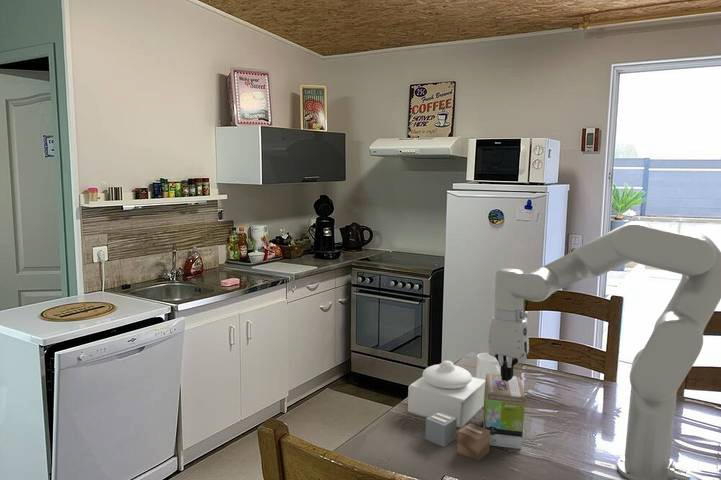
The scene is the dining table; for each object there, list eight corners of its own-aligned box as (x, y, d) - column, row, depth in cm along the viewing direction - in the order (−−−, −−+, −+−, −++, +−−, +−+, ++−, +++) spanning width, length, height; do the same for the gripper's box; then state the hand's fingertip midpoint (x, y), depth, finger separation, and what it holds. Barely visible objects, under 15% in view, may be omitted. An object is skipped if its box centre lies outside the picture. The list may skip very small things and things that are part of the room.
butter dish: (433, 392, 174) (434, 346, 172) (485, 407, 164) (487, 358, 162) (407, 412, 160) (408, 362, 158) (462, 429, 150) (465, 375, 148)
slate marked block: (456, 438, 144) (456, 417, 143) (444, 447, 140) (444, 424, 139) (437, 431, 148) (438, 410, 147) (425, 439, 144) (426, 417, 143)
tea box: (523, 450, 139) (526, 396, 137) (483, 445, 141) (486, 392, 139) (517, 423, 153) (520, 375, 151) (482, 420, 155) (484, 371, 153)
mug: (486, 397, 171) (488, 365, 169) (471, 383, 182) (473, 353, 181) (511, 395, 172) (512, 364, 171) (494, 381, 184) (496, 352, 183)
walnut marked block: (489, 452, 137) (490, 429, 137) (477, 461, 133) (478, 438, 132) (468, 444, 141) (469, 422, 141) (457, 452, 137) (458, 430, 136)
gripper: (541, 316, 140) (538, 382, 142) (490, 307, 150) (488, 369, 152) (529, 322, 135) (526, 390, 137) (477, 312, 145) (475, 376, 147)
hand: (506, 379), depth 145 cm, fingers closed
